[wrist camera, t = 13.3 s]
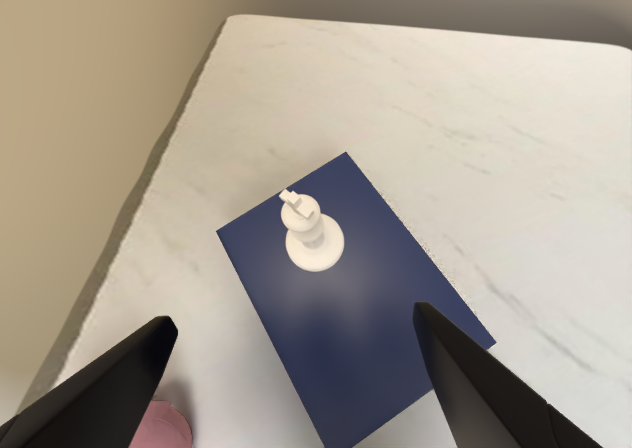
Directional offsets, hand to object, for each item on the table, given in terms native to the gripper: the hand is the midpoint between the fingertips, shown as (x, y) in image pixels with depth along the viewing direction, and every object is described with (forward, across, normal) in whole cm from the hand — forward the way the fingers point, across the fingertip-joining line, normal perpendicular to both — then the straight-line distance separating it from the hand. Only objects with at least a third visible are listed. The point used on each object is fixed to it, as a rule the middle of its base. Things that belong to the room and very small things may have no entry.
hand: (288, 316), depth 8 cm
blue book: (+10, -2, +8) cm, 13 cm away
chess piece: (+11, 0, +4) cm, 11 cm away
